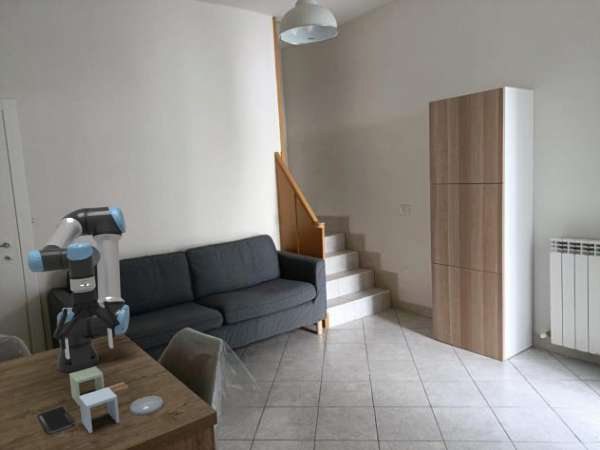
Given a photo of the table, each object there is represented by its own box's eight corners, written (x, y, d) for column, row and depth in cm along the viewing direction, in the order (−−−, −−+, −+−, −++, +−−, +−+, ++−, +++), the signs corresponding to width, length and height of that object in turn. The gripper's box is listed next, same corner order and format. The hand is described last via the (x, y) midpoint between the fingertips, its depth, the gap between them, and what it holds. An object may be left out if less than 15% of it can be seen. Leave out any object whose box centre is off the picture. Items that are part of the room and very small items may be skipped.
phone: (47, 433, 135) (37, 414, 147) (47, 436, 135) (37, 417, 147) (76, 423, 140) (64, 405, 152) (76, 426, 140) (64, 408, 152)
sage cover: (71, 397, 159) (69, 373, 158) (98, 388, 165) (95, 366, 164) (78, 405, 153) (75, 381, 152) (105, 396, 158) (102, 373, 157)
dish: (126, 406, 150) (125, 403, 150) (155, 396, 156) (155, 393, 156) (137, 418, 142) (136, 414, 142) (168, 406, 148) (167, 403, 148)
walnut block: (109, 401, 155) (108, 386, 154) (125, 395, 158) (123, 381, 158) (114, 406, 151) (113, 391, 151) (130, 400, 154) (128, 386, 154)
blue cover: (81, 422, 142) (78, 396, 141) (110, 412, 147) (108, 387, 146) (89, 433, 135) (86, 406, 134) (119, 422, 141) (116, 396, 140)
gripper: (42, 299, 143) (50, 365, 145) (125, 284, 158) (131, 345, 160) (39, 295, 149) (46, 359, 151) (119, 282, 164) (124, 340, 166)
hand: (90, 352), depth 155 cm, fingers open, 13 cm apart
